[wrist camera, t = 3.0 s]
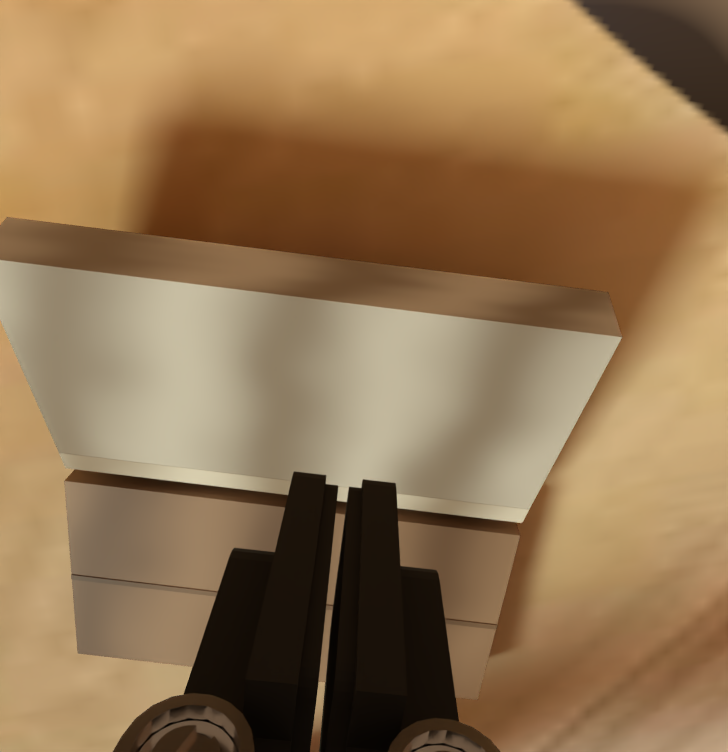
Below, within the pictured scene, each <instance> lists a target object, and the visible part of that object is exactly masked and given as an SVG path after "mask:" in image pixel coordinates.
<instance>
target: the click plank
mask: <svg viewBox="0 0 728 752" xmlns="http://www.w3.org/2000/svg"><path fill="white" fill-rule="evenodd" d="M0 321H1V323H2V325H3V327H4V330H5V332H6V334H7V336H8V339H9V341H10V343H11V345H12V348H13V350H14V352H15V354H16V357H17V359H18V361H19V363H20V366H21V368H22V370H23V373H24V375H25V377H26V379H27V382H28V384H29V386H30V388H31V391H32V393H33V395H34V397H35V400H36V402H37V404H38V406H39V409H40V411H41V413H42V415H43V418H44V420H45V422H46V424H47V427H48V429H49V431H50V434H51V436H52V438H53V440H54V443H55V445H56V447H57V449H58V452H59V454H60V457H61V459H62V461H63V463H64V466H65V468H68V469H77V470H85V471H93V472H102V473H110V474H118V475H127V476H135V477H143V478H151V479H160V480H168V481H176V482H185V483H193V484H201V485H210V486H218V487H226V488H235V489H243V490H251V491H260V492H268V493H276V494H284V495H288V493H289V489H290V484H291V480H292V476H293V472H294V471H295V472H304V473H313V474H322V475H326V484H331V485H338V495H337V501H343V502H347V497H348V490H349V487H357V488H361V486H362V481H363V479H365V480H374V481H383V482H392V483H396V490H397V508H401V509H409V510H417V511H426V512H434V513H442V514H451V515H459V516H467V517H476V518H484V519H492V520H501V521H509V522H517V523H522V522H523V520H524V519H525V517H526V515H527V513H528V511H529V509H530V507H531V505H532V503H533V502H534V500H535V498H536V496H537V494H538V492H539V490H540V489H541V487H542V485H543V483H544V481H545V479H546V478H547V476H548V474H549V472H550V470H551V468H552V466H553V465H554V463H555V461H556V459H557V457H558V455H559V453H560V452H561V450H562V448H563V446H564V444H565V442H566V440H567V439H568V437H569V435H570V433H571V431H572V429H573V428H574V426H575V424H576V422H577V420H578V418H579V416H580V415H581V413H582V411H583V409H584V407H585V405H586V403H587V402H588V400H589V398H590V396H591V394H592V392H593V391H594V389H595V387H596V385H597V383H598V381H599V379H600V378H601V376H602V374H603V372H604V370H605V368H606V366H607V365H608V363H609V361H610V359H611V357H612V355H613V353H614V352H615V350H616V348H617V346H618V344H619V342H620V341H621V339H622V335H621V332H620V328H619V325H618V322H617V319H616V315H615V312H614V309H613V306H612V303H611V299H610V296H609V293H608V292H603V291H595V290H587V289H579V288H571V287H563V286H555V285H547V284H539V283H531V282H523V281H515V280H507V279H499V278H491V277H483V276H475V275H467V274H459V273H451V272H443V271H435V270H427V269H419V268H411V267H403V266H395V265H387V264H379V263H371V262H363V261H355V260H347V259H339V258H331V257H323V256H315V255H307V254H299V253H291V252H283V251H275V250H267V249H259V248H251V247H243V246H235V245H227V244H219V243H211V242H203V241H195V240H187V239H179V238H171V237H163V236H155V235H147V234H139V233H131V232H123V231H115V230H107V229H99V228H91V227H83V226H75V225H67V224H59V223H51V222H43V221H35V220H27V219H19V218H11V217H7V218H6V219H5V220H4V221H3V222H2V224H1V225H0Z"/></svg>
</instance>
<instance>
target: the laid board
mask: <svg viewBox="0 0 728 752" xmlns="http://www.w3.org/2000/svg"><path fill="white" fill-rule="evenodd" d="M64 482H65V495H66V508H67V521H68V534H69V547H70V559H71V572H72V575H71V579H72V585H73V598H74V611H75V624H76V637H77V650H78V653H79V654H87V655H96V656H105V657H113V658H122V659H130V660H139V661H147V662H156V663H165V664H173V665H182V666H190V667H193V665H194V662H195V659H196V656H197V653H198V650H199V647H200V644H201V641H202V638H203V635H204V632H205V629H206V626H207V623H208V620H209V617H210V614H211V611H212V608H213V605H214V602H215V598H216V595H217V592H218V589H219V586H220V583H221V580H222V577H223V574H224V571H225V568H226V565H227V562H228V559H229V556H230V554H231V551H232V550H233V548H242V549H251V550H260V551H270V552H275V549H276V545H277V540H278V536H279V532H280V528H281V523H282V519H283V515H284V510H285V506H286V502H287V497H288V495H284V494H276V493H268V492H260V491H251V490H243V489H235V488H226V487H218V486H210V485H201V484H193V483H185V482H176V481H168V480H160V479H151V478H143V477H135V476H127V475H118V474H110V473H102V472H93V471H85V470H77V469H75V470H74V471H73V472H72V473H71V474H70V475H69V476H68V478H67V479H66V480H65V481H64ZM346 504H347V502H343V501H337V505H336V515H335V525H334V535H333V544H332V554H331V564H330V574H329V584H328V594H327V603H326V613H325V623H324V633H323V643H322V652H321V662H320V672H319V682H326V671H327V660H328V649H329V638H330V627H331V618H332V610H333V603H334V595H335V587H336V580H337V572H338V565H339V557H340V550H341V542H342V534H343V527H344V519H345V512H346ZM397 509H398V528H399V547H400V565H401V566H406V567H415V568H424V569H433V570H437V572H438V574H439V579H440V586H441V593H442V601H443V608H444V616H445V623H446V630H447V638H448V645H449V653H450V660H451V668H452V675H453V682H454V690H455V697H456V698H464V699H473V700H478V697H479V693H480V689H481V685H482V681H483V677H484V673H485V670H486V666H487V662H488V658H489V654H490V650H491V646H492V643H493V639H494V635H495V631H496V629H497V623H498V619H499V616H500V612H501V608H502V604H503V600H504V596H505V593H506V589H507V585H508V581H509V577H510V573H511V569H512V566H513V562H514V558H515V554H516V550H517V546H518V542H519V539H520V533H519V530H518V527H517V524H516V522H509V521H501V520H492V519H484V518H476V517H467V516H459V515H451V514H442V513H434V512H426V511H417V510H409V509H401V508H397Z"/></svg>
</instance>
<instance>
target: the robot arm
mask: <svg viewBox="0 0 728 752" xmlns="http://www.w3.org/2000/svg"><path fill="white" fill-rule="evenodd" d="M337 495H338V485H331V484H326V475H322V474H313V473H304V472H295V471H294V472H293V476H292V480H291V484H290V489H289V493H288V497H287V502H286V506H285V510H284V515H283V519H282V523H281V528H280V532H279V536H278V540H277V545H276V549H275V552H270V551H260V550H251V549H242V548H233V550H232V551H231V554H230V556H229V559H228V562H227V565H226V568H225V571H224V574H223V577H222V580H221V583H220V586H219V589H218V592H217V595H216V598H215V602H214V605H213V608H212V611H211V614H210V617H209V620H208V623H207V626H206V629H205V632H204V635H203V638H202V641H201V644H200V647H199V650H198V653H197V656H196V659H195V662H194V665H193V668H192V671H191V674H190V677H189V680H188V683H187V686H186V689H185V692H184V695H179V696H173V697H170V698H168V699H166V700H163V701H161V702H159V703H157V704H154V705H152V706H151V707H150V708H149V709H147V710H146V711H145V712H143V713H142V714H141V715H139V716H138V717H137V718H136V719H135V720H134V721H133V722H132V724H131V725H130V726H129V727H128V729H127V730H126V731H125V733H124V734H123V735H122V737H121V738H120V740H119V742H118V743H117V745H116V747H115V749H114V750H113V752H310V745H311V737H312V729H313V721H314V714H315V706H316V698H317V689H318V681H319V672H320V662H321V652H322V643H323V633H324V623H325V613H326V603H327V594H328V584H329V574H330V564H331V554H332V544H333V535H334V525H335V515H336V505H337ZM319 752H500V751H499V749H498V748H497V747H496V746H495V745H494V744H493V742H492V741H491V740H490V739H488V738H487V737H486V736H484V735H483V734H481V733H480V732H479V731H477V730H476V729H474V728H473V727H471V726H468V725H466V724H463V723H461V722H459V719H458V712H457V705H456V697H455V690H454V682H453V675H452V668H451V660H450V653H449V645H448V638H447V630H446V623H445V616H444V608H443V601H442V593H441V586H440V579H439V574H438V572H437V570H433V569H424V568H415V567H406V566H401V565H400V547H399V528H398V509H397V490H396V483H392V482H383V481H374V480H365V479H363V481H362V486H361V488H357V487H349V490H348V497H347V504H346V512H345V519H344V527H343V534H342V542H341V550H340V557H339V565H338V572H337V580H336V587H335V595H334V603H333V610H332V618H331V627H330V638H329V649H328V660H327V671H326V682H325V693H324V705H323V716H322V727H321V738H320V749H319Z"/></svg>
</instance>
